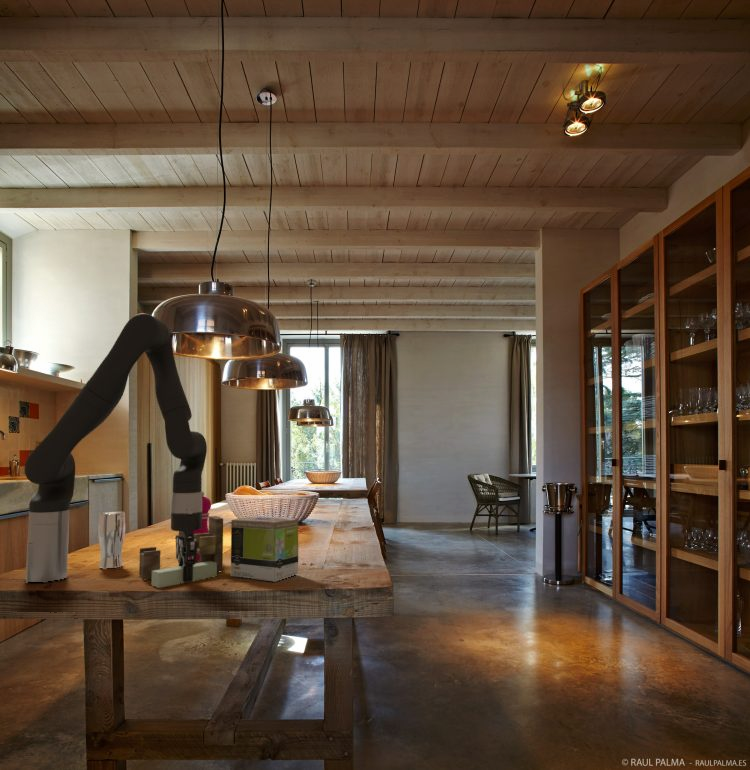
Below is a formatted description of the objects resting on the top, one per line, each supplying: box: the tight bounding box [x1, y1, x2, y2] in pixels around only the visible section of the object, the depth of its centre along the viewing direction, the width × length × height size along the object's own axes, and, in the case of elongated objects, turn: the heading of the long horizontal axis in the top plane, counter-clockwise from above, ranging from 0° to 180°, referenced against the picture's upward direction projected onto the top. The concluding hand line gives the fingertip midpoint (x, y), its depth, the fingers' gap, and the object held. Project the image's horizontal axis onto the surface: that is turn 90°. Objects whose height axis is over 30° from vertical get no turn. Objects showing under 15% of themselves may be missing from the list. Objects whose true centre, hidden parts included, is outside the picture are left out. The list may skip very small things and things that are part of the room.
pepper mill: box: [189, 491, 212, 561], centre depth 182 cm, size 7×7×20 cm
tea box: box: [230, 515, 299, 583], centre depth 159 cm, size 15×10×15 cm
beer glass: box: [97, 510, 126, 570], centre depth 171 cm, size 7×7×15 cm
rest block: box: [138, 546, 162, 581], centre depth 158 cm, size 4×7×7 cm, turn 30°
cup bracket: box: [194, 515, 224, 573], centre depth 166 cm, size 6×7×14 cm
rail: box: [150, 561, 218, 589], centre depth 153 cm, size 16×4×4 cm, turn 137°
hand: (185, 579), depth 153 cm, fingers closed on rail, 4 cm apart
